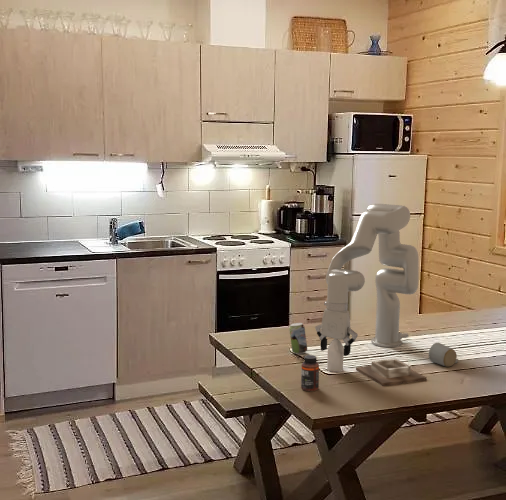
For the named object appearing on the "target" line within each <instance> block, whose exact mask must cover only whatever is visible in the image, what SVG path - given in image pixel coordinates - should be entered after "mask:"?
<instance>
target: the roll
mask: <svg viewBox="0 0 506 500" xmlns="http://www.w3.org/2000/svg"><path fill="white" fill-rule="evenodd" d="M344 357H345V356H344V344H342V341H341V340H339V339H334V338H333V339H332V340H331V342H330V343H329V345H327V358H326V360H327V364H326V365H327V366H326V370H327V371H329V372H334V373H339V372H342V371H343V370H344Z"/></svg>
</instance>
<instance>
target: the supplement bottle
mask: <svg viewBox="0 0 506 500" xmlns="http://www.w3.org/2000/svg"><path fill="white" fill-rule="evenodd" d="M303 360H304V361H303V362H302V363H301V368H300V369H301V370H300V371H301V372H300V373H301V375H300V377H301V379H300V380H301V381H300V382H301V383H300V384H301V385H300V388H301V390H303V391H304V392H305V391H306V392H315V391H317V390H319V387H320V386H319V385H320V384H319V382H320V364H319V362H317V356H316V355H314V354H313V355H312V354H307V355H305V356H304V359H303Z"/></svg>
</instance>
